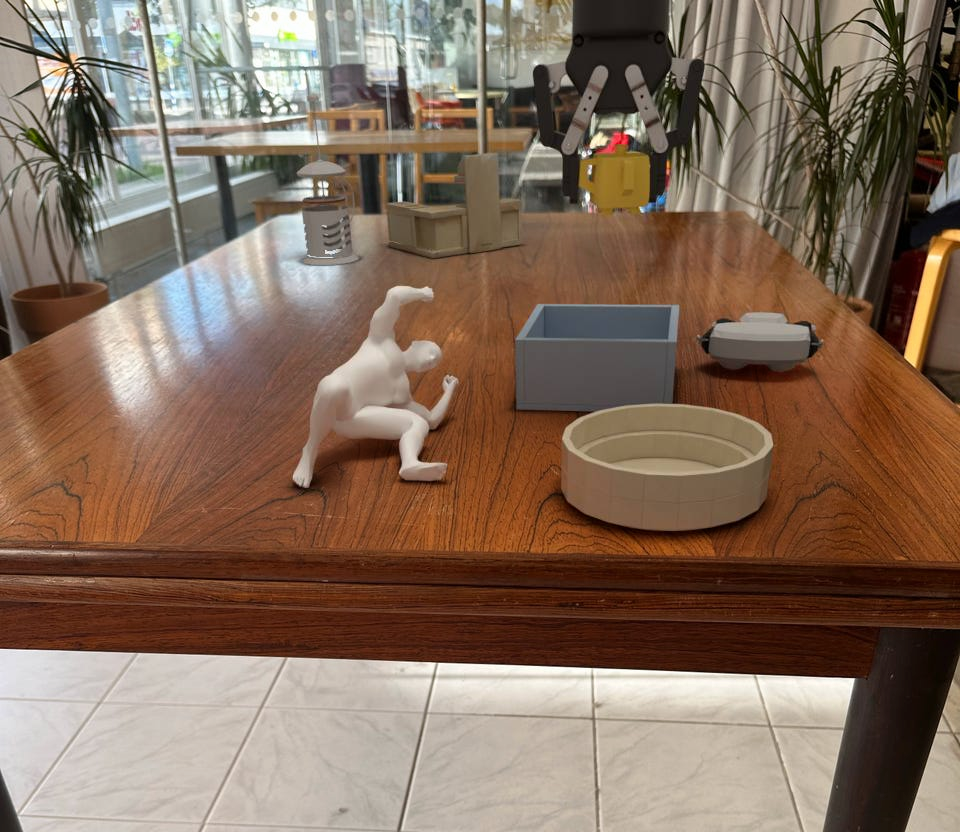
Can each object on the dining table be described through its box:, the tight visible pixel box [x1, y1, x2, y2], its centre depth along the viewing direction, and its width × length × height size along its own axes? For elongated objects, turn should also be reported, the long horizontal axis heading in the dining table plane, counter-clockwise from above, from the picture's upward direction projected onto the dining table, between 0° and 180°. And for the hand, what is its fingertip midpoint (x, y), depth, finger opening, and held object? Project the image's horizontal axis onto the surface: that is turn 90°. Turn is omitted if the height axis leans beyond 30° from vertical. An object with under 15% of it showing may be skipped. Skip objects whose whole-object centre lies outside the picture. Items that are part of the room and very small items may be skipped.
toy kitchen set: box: [386, 152, 523, 259], centre depth 166 cm, size 18×17×15 cm
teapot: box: [578, 143, 650, 217], centre depth 80 cm, size 8×6×5 cm
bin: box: [514, 303, 680, 413], centre depth 93 cm, size 15×15×7 cm
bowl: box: [560, 403, 774, 532], centre depth 71 cm, size 15×15×4 cm
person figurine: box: [292, 285, 459, 489], centre depth 79 cm, size 13×13×18 cm
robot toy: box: [696, 311, 825, 373], centre depth 100 cm, size 12×4×15 cm
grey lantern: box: [296, 92, 360, 266], centre depth 157 cm, size 10×12×25 cm
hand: (612, 201), depth 81 cm, fingers closed on teapot, 6 cm apart
